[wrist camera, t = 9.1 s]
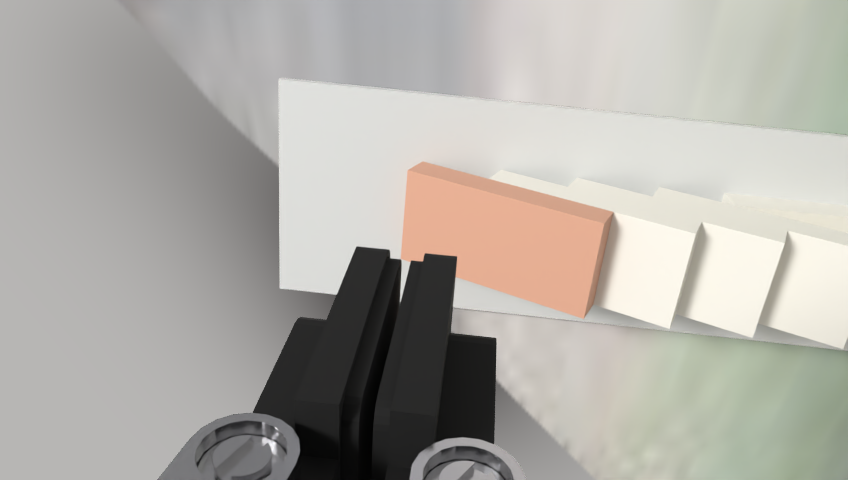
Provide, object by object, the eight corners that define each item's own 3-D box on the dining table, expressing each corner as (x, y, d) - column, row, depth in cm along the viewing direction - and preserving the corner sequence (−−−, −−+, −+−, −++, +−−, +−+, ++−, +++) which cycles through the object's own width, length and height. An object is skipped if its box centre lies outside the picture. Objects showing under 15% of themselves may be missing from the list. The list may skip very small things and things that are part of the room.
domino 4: (724, 192, 37) (923, 213, 37) (699, 278, 39) (887, 298, 39) (734, 205, 36) (941, 226, 35) (707, 293, 38) (903, 314, 37)
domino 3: (577, 177, 37) (787, 230, 33) (561, 263, 39) (756, 322, 35) (567, 186, 36) (784, 243, 32) (551, 275, 38) (752, 338, 34)
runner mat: (970, 147, 35) (974, 150, 35) (881, 350, 41) (884, 354, 40) (280, 77, 36) (278, 79, 36) (281, 284, 42) (279, 288, 41)
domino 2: (501, 169, 37) (701, 221, 33) (489, 255, 40) (676, 314, 36) (488, 178, 36) (695, 233, 32) (477, 267, 38) (669, 328, 34)
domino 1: (422, 161, 37) (613, 211, 34) (415, 247, 40) (593, 304, 36) (407, 170, 36) (604, 223, 32) (400, 258, 38) (583, 319, 34)
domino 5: (659, 186, 37) (880, 241, 33) (638, 272, 39) (843, 333, 35) (652, 196, 36) (881, 254, 32) (631, 284, 38) (842, 349, 34)
